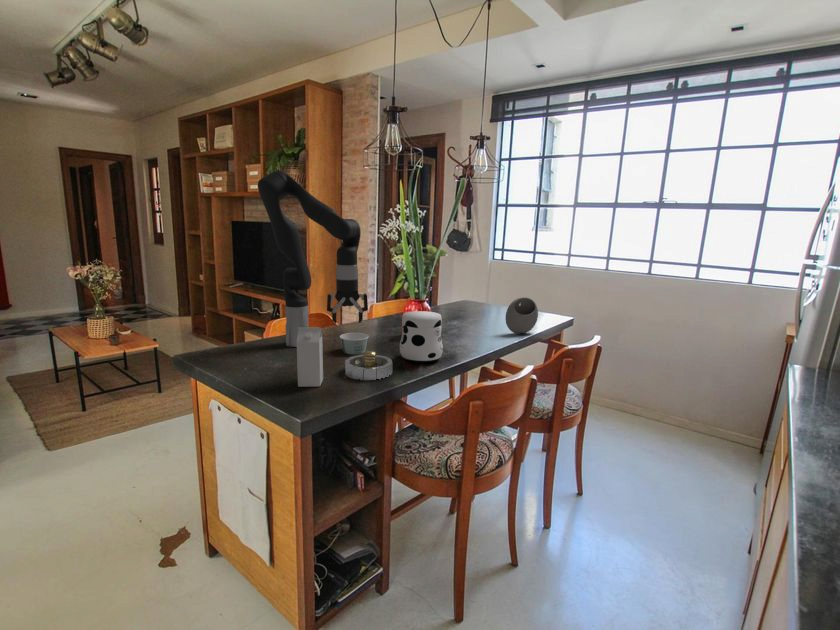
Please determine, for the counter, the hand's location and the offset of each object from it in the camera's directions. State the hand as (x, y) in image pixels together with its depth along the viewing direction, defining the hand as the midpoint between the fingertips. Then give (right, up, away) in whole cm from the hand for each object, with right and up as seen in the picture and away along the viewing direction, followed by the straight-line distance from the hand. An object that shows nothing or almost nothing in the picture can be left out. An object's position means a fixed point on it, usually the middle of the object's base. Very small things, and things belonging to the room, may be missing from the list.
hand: (347, 322), depth 153 cm
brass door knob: (+8, -18, +1) cm, 19 cm away
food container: (-2, -13, +27) cm, 30 cm away
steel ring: (+7, -18, +1) cm, 19 cm away
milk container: (+26, -15, +19) cm, 35 cm away
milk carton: (-10, -20, -11) cm, 25 cm away
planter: (+77, -7, +64) cm, 100 cm away
